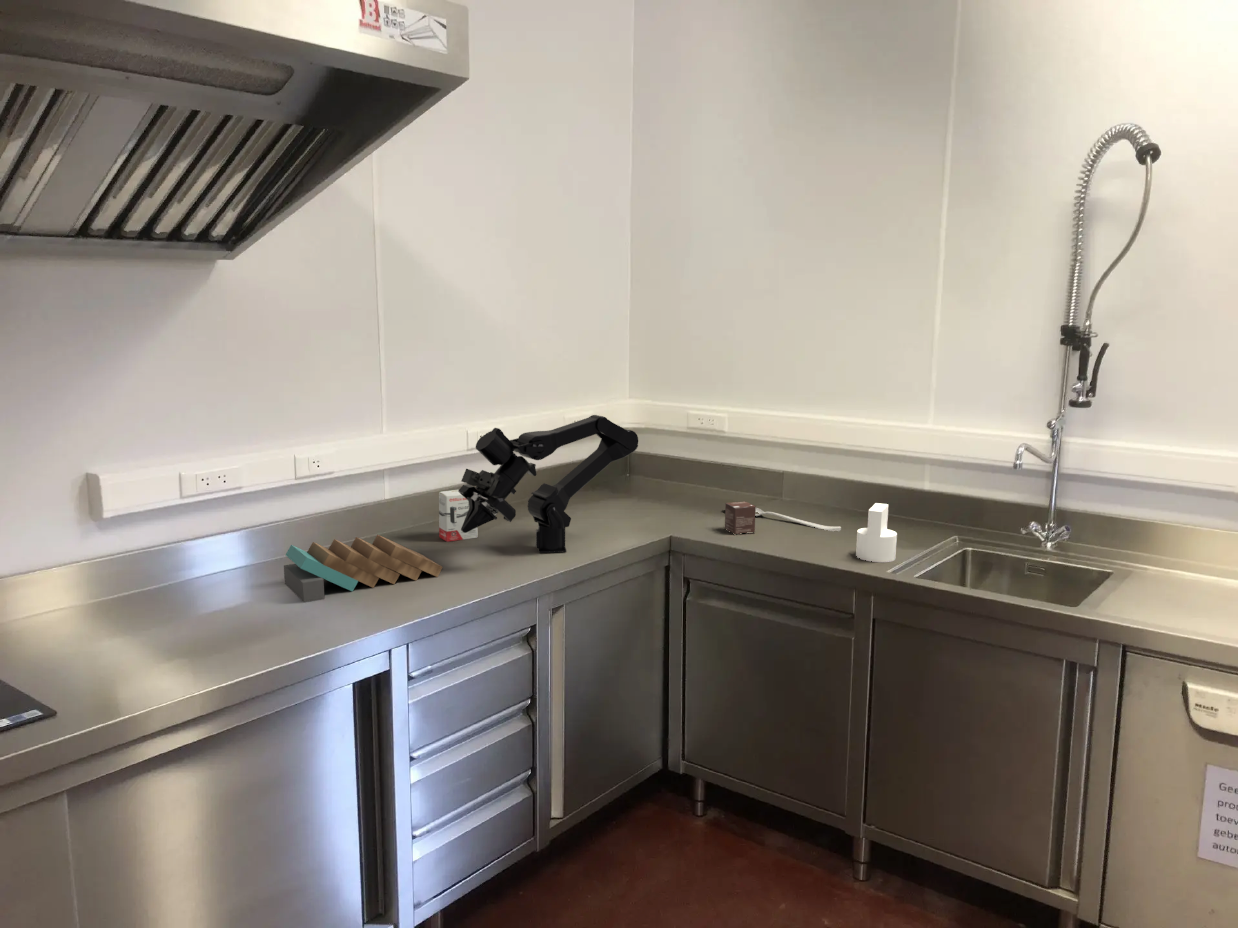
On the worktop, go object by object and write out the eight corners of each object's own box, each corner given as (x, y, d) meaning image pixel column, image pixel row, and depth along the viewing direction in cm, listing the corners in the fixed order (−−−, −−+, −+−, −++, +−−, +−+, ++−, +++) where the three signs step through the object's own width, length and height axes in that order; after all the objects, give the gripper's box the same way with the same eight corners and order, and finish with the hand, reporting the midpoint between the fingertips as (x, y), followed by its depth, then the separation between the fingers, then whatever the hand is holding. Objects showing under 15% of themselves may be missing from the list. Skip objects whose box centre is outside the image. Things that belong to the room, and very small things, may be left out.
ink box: (446, 542, 222) (445, 495, 220) (438, 537, 227) (437, 491, 224) (478, 537, 227) (477, 491, 225) (470, 533, 231) (469, 488, 229)
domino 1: (341, 567, 194) (291, 544, 187) (358, 580, 185) (306, 557, 178) (335, 577, 193) (285, 555, 186) (352, 591, 184) (300, 568, 178)
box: (745, 528, 240) (746, 501, 238) (755, 533, 234) (756, 506, 233) (724, 529, 238) (724, 502, 236) (733, 535, 232) (734, 507, 231)
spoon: (718, 513, 256) (719, 504, 255) (733, 508, 262) (734, 499, 261) (833, 540, 235) (833, 530, 234) (846, 533, 241) (847, 524, 240)
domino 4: (402, 558, 201) (356, 536, 194) (421, 570, 192) (373, 548, 186) (397, 568, 201) (350, 546, 194) (416, 580, 192) (368, 559, 185)
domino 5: (422, 555, 204) (377, 534, 197) (442, 566, 195) (395, 545, 188) (417, 564, 204) (372, 544, 197) (437, 577, 195) (390, 556, 188)
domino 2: (361, 564, 196) (313, 541, 189) (379, 577, 187) (329, 553, 180) (355, 574, 196) (307, 551, 189) (373, 587, 187) (322, 564, 180)
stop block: (304, 580, 191) (303, 562, 190) (324, 598, 180) (323, 579, 179) (284, 583, 189) (283, 565, 188) (303, 602, 177) (302, 582, 177)
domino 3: (381, 561, 199) (334, 538, 192) (400, 574, 190) (351, 550, 183) (375, 571, 198) (328, 549, 191) (394, 584, 189) (345, 561, 182)
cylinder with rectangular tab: (860, 549, 220) (863, 501, 217) (898, 554, 216) (901, 505, 214) (852, 559, 212) (855, 508, 210) (891, 564, 208) (895, 513, 206)
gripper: (465, 449, 210) (421, 501, 206) (502, 462, 195) (456, 518, 191) (496, 479, 216) (454, 530, 212) (534, 493, 201) (490, 549, 197)
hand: (462, 531), depth 203 cm, fingers closed
